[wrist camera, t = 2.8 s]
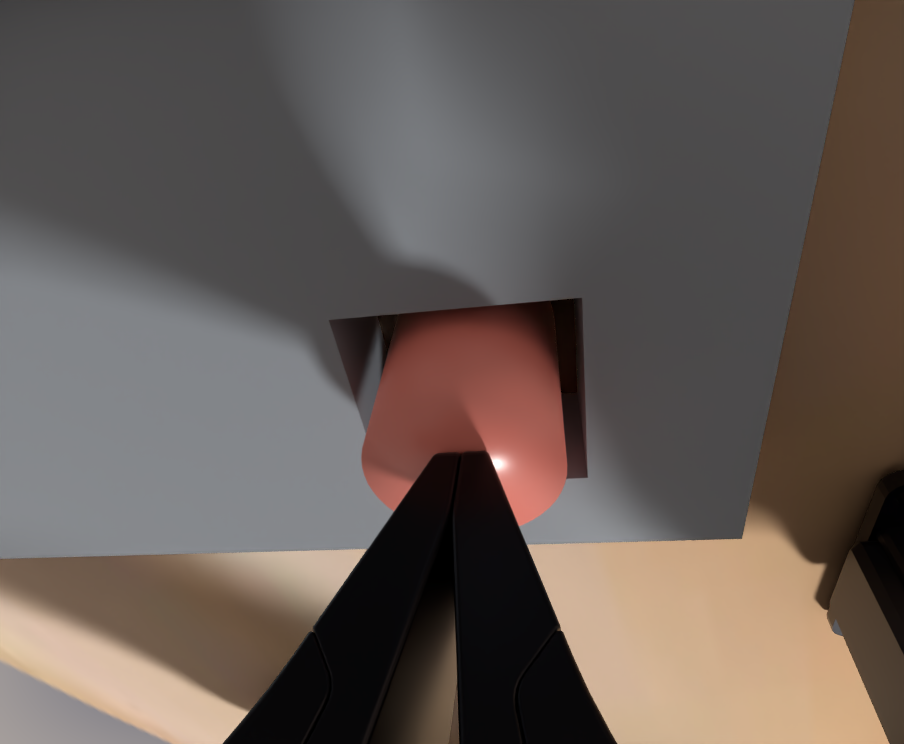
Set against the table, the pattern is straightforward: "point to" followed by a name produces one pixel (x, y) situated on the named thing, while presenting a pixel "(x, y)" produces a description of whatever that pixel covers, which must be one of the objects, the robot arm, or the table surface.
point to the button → (471, 402)
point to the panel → (388, 250)
